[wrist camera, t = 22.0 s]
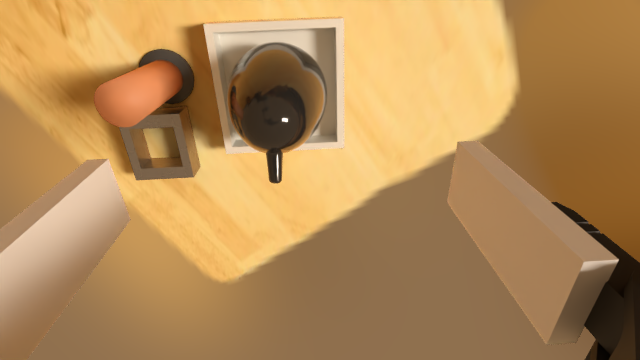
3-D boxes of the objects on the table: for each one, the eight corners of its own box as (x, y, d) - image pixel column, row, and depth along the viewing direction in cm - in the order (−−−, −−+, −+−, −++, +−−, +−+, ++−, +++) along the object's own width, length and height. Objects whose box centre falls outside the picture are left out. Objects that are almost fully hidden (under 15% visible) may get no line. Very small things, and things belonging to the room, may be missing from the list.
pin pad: (133, 50, 38) (131, 50, 37) (187, 48, 38) (186, 48, 38) (147, 104, 41) (146, 104, 40) (198, 101, 41) (197, 102, 40)
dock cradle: (210, 22, 37) (203, 24, 34) (340, 16, 37) (343, 18, 34) (231, 143, 43) (226, 153, 40) (341, 137, 44) (344, 147, 41)
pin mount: (127, 109, 41) (115, 116, 38) (186, 106, 41) (179, 113, 38) (146, 169, 45) (136, 180, 42) (200, 166, 45) (193, 177, 42)
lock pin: (142, 60, 38) (87, 81, 28) (179, 59, 38) (136, 80, 28) (151, 96, 40) (102, 128, 30) (186, 95, 40) (148, 126, 30)
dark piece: (241, 130, 42) (212, 192, 28) (230, 38, 37) (189, 61, 24) (324, 128, 42) (335, 188, 29) (324, 37, 37) (337, 59, 24)
